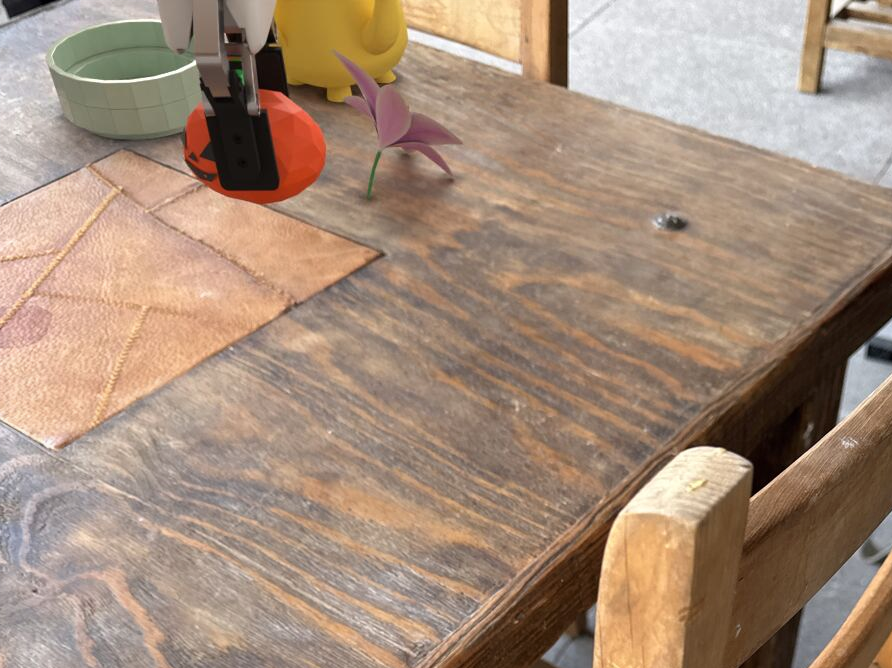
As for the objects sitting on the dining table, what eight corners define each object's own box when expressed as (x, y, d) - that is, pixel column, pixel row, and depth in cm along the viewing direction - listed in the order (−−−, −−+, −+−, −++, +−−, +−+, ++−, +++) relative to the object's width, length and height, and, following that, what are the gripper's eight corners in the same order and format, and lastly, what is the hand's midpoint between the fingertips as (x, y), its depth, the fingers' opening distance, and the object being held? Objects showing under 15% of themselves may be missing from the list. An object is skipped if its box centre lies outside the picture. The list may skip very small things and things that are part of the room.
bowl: (51, 146, 102) (30, 84, 98) (81, 79, 111) (63, 20, 107) (214, 143, 103) (200, 81, 99) (232, 77, 111) (219, 18, 108)
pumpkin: (307, 232, 66) (286, 110, 61) (176, 211, 67) (145, 89, 62) (352, 176, 70) (337, 57, 65) (230, 157, 71) (205, 39, 66)
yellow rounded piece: (266, 116, 107) (236, -36, 97) (272, 54, 115) (245, -91, 106) (417, 110, 108) (402, -40, 98) (412, 49, 116) (398, -94, 107)
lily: (470, 227, 97) (494, 98, 93) (333, 188, 91) (352, 49, 87) (424, 212, 106) (444, 93, 102) (296, 176, 100) (312, 49, 96)
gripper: (129, -297, 58) (212, 90, 72) (54, -203, 47) (170, 229, 61) (281, -293, 58) (335, 91, 72) (242, -200, 48) (313, 229, 62)
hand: (259, 152), depth 66 cm, fingers closed on pumpkin, 7 cm apart
